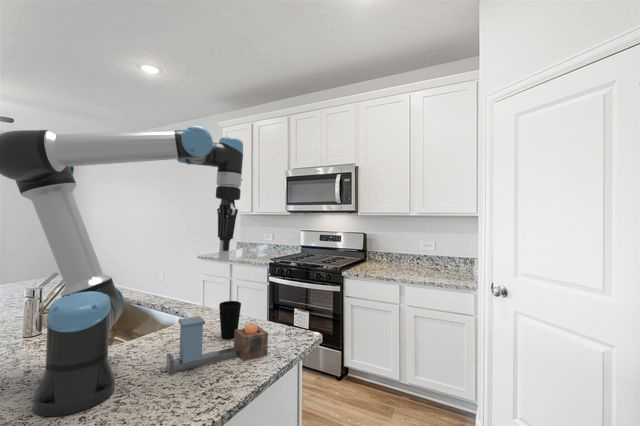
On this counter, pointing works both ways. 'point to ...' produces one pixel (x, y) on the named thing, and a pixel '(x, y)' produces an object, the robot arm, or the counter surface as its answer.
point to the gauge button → (251, 329)
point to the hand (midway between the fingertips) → (223, 260)
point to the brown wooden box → (251, 344)
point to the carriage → (191, 339)
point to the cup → (229, 318)
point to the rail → (206, 359)
